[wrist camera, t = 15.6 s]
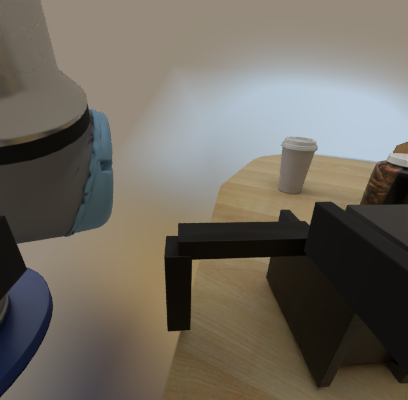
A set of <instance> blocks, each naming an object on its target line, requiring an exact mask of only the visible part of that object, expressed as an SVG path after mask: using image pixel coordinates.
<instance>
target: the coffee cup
mask: <svg viewBox="0 0 408 400" xmlns="http://www.w3.org/2000/svg"><path fill="white" fill-rule="evenodd" d="M281 146H282V147H283V148H282V158H281V168H280V177H279V186H278V189H279V190H280V191H282V192H285V193H290V194H298V193H300V192H301V189H302V186H303V184H304V181H305V178H306V175H307V172H308V169H309V167H310V164H311V161H312V158H313V155H314V152H315V151H316V150H317V145H316V141H315V140H313V139H308V138H301V137H287V138H285V141H283V143H282V145H281Z"/></svg>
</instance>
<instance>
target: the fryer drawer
mask: <svg viewBox="0 0 408 400" xmlns="http://www.w3.org/2000/svg"><path fill="white" fill-rule="evenodd" d="M309 228H310V226H309V225H308V224H307V222H306V221H300V220H299V219H298V218H297V217H296V216H295V215H294V214H293V213H292V212H291V211H290V210H281V211H280V216H279V221H278V222H231V223H179V224H178V236H167V237H166V246H165V281H166V304H167V326H168V331H182V330H190V321H191V279H192V260H195V259H226V258H254V257H271V258H270V262H269V267H268V272H267V276H266V278H267V280H268V282H269V285H270V287H271V289H272V291H273V293H274V295H275V297H276V299H277V302H278V304H279V306H280V308H281V310H282V312H283V314H284V316H285V319H286V321H287V323H288V325H289V327H290V329H291V331H292V333H293V336H294V338H295V340H296V342H297V344H298V346H299V348H300V350H301V353H302V355H303V357H304V359H305V361H306V363H307V365H308V367H309V370H310V372H311V374H312V376H313V378H314V380H315V382H316V385H317V387H318V388H319V387H329V386H330V384H331V382H332V381H333V379H334V377H335V375H336V373H337V371H338V369H339V367H340V366H341V365H351V364H362V363H373V362H384V361H394V360H395V359H394V358H393V357H392V356H391V354H390V353H389V352H388V351H387V350H386V349H385V347H384V346H383V345H382V344H381V343H380V341H379V340H378V339H377V338H376V337H375V335H374V334H373V333H372V332H371V331H370V329H369V328H368V327H367V326H366V325H365V323H364V322H363V321H362V320H361V319H360V317H359V316H358V315H357V314H356V313H355V312H354V310H353V309H352V308H351V307H350V306H349V304H348V303H347V302H346V301H345V300H344V298H343V297H342V296H341V295H340V294H339V292H338V291H337V290H336V289H335V288H334V286H333V285H332V284H331V283H330V282H329V281H328V279H327V278H326V277H325V276H324V275H323V273H322V272H321V271H320V270H319V269H318V267H317V266H316V265H315V264H314V263H313V261H312V260H311V259H310V258H309V257H308V255H307V254H306V253H305V252H304V249H305V245H306V241H307V236H308V232H309Z"/></svg>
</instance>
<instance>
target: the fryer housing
mask: <svg viewBox="0 0 408 400" xmlns="http://www.w3.org/2000/svg"><path fill="white" fill-rule="evenodd" d="M345 211H346V212H347V213H349V214H350V215H352V216H353V217H355V218H356V219H358V220H359V221H361V222H363V223H364V224H366V225H367V226H369V227H370V228H372V229H373V230H375V231H376V232H378V233H379V234H381V235H382V236H384V237H385V238H387V239H388V240H390V241H391V242H393V243H394V244H396V245H397V246H399V247H400V248H402V249H403V250H405V251H406V252H408V205H347V207H346V210H345ZM384 363H385V364H386V365H387V366H388V368H389V369H390V370H391V372H392V373H393V374H394V376H395V377H396V378H397V380H398V381H399V382H400V383H406V382H408V375H407V374H406V372H405V371H404V370H403V369H402V368H401V366H400V365H399V364H398V363H397V362H396V360H394V361H384Z"/></svg>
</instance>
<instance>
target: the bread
mask: <svg viewBox="0 0 408 400" xmlns="http://www.w3.org/2000/svg"><path fill="white" fill-rule="evenodd" d="M393 153H403V154H408V142H406V143H403V144H400V145H398V146H396V148H395V150H394V151H393Z"/></svg>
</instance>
